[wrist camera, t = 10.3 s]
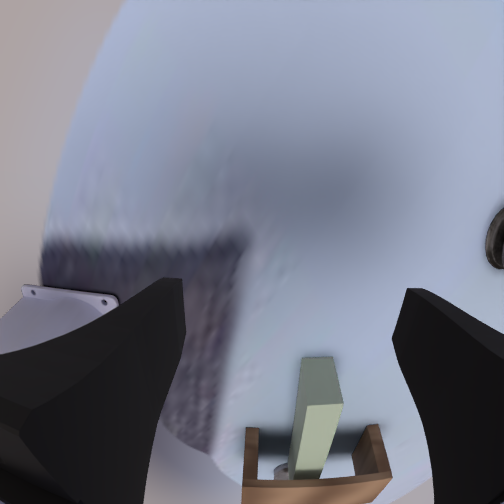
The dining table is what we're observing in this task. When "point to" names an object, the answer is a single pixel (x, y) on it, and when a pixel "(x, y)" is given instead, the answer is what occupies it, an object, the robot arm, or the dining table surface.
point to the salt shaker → (496, 241)
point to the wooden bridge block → (320, 490)
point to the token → (281, 472)
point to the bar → (314, 418)
